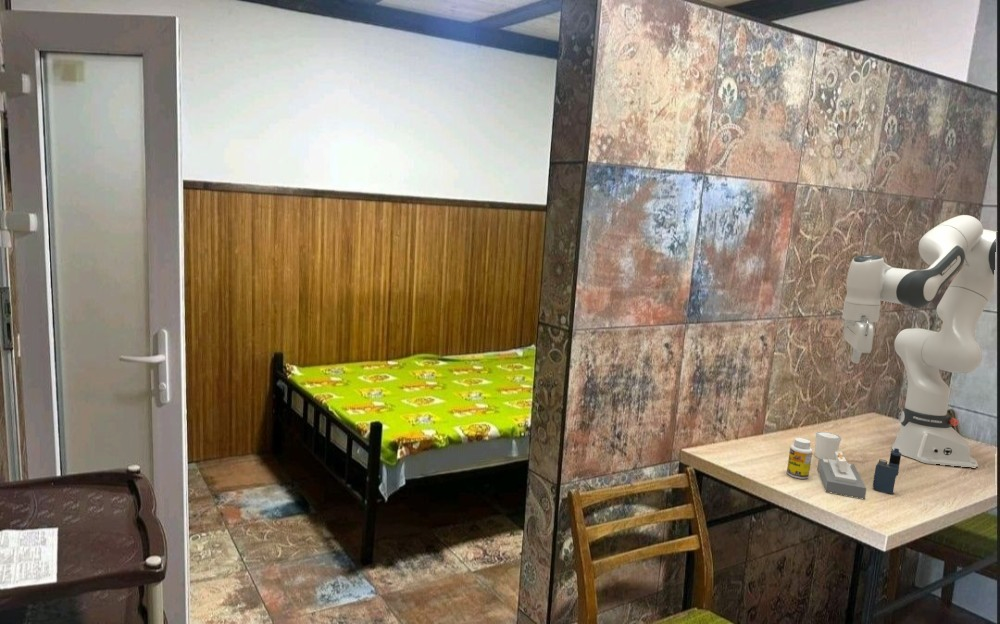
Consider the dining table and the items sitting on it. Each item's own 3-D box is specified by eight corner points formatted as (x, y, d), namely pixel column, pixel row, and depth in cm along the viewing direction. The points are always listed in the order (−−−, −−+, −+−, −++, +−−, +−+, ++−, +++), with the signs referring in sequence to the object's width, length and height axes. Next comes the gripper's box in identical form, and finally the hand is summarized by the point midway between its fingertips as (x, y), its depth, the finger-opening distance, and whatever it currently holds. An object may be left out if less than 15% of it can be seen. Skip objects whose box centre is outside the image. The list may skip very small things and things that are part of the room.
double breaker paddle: (842, 461, 180) (841, 450, 180) (847, 472, 173) (846, 460, 173) (836, 462, 181) (834, 451, 181) (841, 472, 173) (839, 460, 173)
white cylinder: (840, 463, 194) (844, 440, 193) (815, 459, 195) (819, 437, 194) (834, 455, 200) (837, 433, 199) (810, 452, 202) (813, 430, 200)
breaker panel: (852, 474, 185) (854, 461, 184) (864, 499, 168) (867, 484, 167) (817, 468, 187) (819, 455, 187) (825, 492, 171) (828, 477, 170)
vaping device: (894, 495, 172) (902, 451, 170) (871, 489, 174) (879, 446, 173) (894, 492, 174) (902, 448, 172) (872, 486, 177) (879, 444, 175)
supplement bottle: (781, 472, 182) (787, 437, 181) (796, 470, 185) (801, 436, 183) (798, 480, 177) (803, 444, 176) (813, 478, 179) (818, 442, 178)
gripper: (882, 320, 171) (875, 372, 174) (866, 309, 190) (860, 356, 193) (855, 318, 173) (848, 369, 176) (842, 307, 192) (836, 353, 195)
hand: (854, 362), depth 184 cm, fingers closed
